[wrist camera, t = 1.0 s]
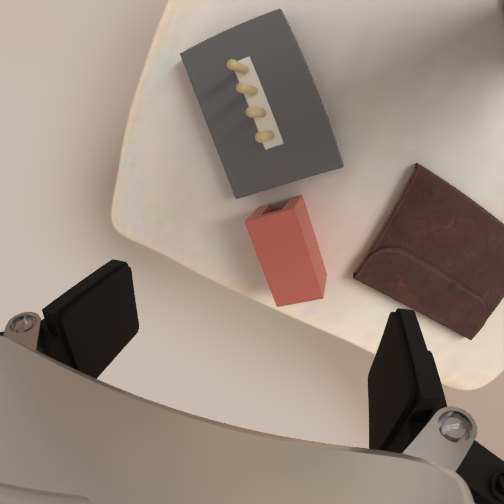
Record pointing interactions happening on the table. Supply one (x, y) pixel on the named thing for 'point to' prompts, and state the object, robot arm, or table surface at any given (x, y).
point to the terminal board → (261, 105)
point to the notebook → (439, 255)
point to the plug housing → (288, 252)
